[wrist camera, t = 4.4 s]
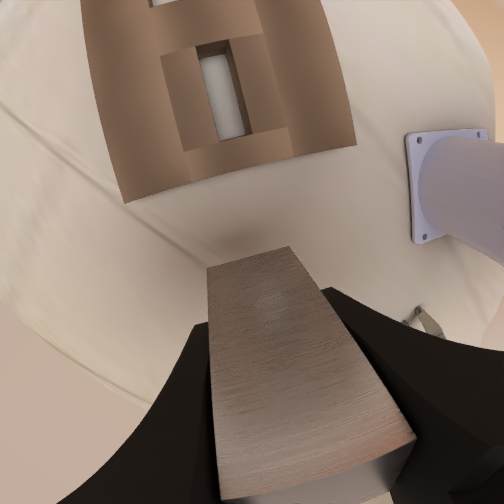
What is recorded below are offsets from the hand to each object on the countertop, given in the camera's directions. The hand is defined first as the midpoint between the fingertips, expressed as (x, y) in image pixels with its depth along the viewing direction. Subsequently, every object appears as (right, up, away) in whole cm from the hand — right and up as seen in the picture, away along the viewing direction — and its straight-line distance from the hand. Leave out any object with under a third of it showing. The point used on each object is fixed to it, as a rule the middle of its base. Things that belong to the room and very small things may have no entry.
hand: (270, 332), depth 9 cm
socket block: (-3, +14, +4) cm, 15 cm away
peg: (0, +1, +2) cm, 2 cm away
